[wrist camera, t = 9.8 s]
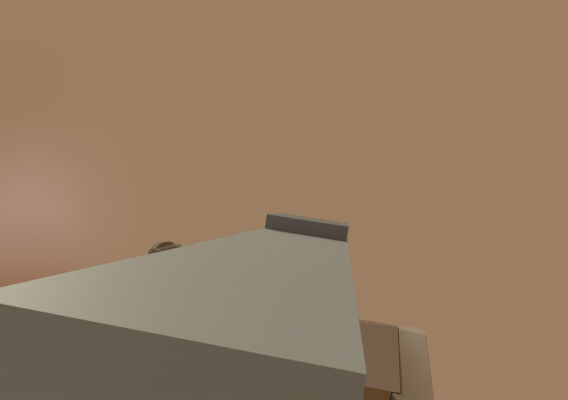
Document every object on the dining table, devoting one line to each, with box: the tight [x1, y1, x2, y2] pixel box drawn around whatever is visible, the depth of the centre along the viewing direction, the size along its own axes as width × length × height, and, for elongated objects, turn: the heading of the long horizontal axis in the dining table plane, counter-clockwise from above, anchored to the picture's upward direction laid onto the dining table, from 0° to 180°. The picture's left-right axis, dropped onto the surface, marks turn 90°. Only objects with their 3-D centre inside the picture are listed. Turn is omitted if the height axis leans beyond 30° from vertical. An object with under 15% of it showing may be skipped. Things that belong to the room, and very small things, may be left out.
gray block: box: [0, 214, 367, 400], centre depth 14 cm, size 21×4×4 cm, turn 173°
